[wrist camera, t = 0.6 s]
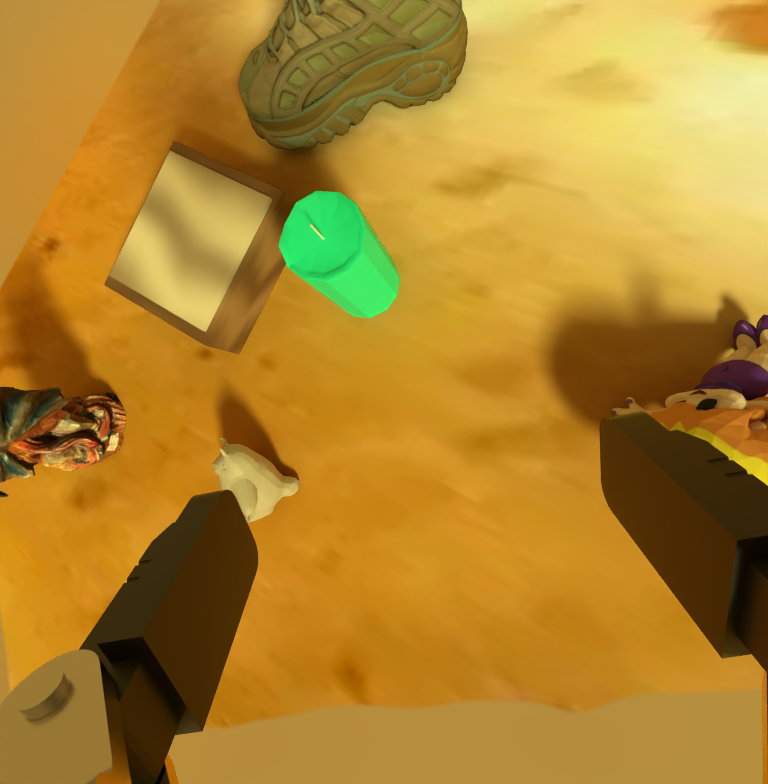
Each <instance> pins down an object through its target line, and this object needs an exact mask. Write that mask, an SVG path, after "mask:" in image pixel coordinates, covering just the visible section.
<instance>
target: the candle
mask: <svg viewBox="0 0 768 784" xmlns="http://www.w3.org/2000/svg"><path fill="white" fill-rule="evenodd" d="M279 248H280V250H281V252H282V255H283V257H284V260H285V262H286V264H287V267H288V268H289V269H290V270H292V271H293V272H294V273H295V274H297V275H298V276H299V277H301V278H302V279H303V280H305V281H306V282H307V283H309V284H310V285H311V286H313V287H314V288H315V289H317V290H318V291H319V292H321V293H322V294H324V295H325V296H326V297H328V298H329V299H330V300H332V301H333V302H334V303H336V304H337V305H339V306H340V307H341V308H343V309H344V310H345V311H347V312H348V313H349V314H351V315H352V316H355V317H365V318H371V317H373V316H375V315H378V314H380V313H382V312H384V311H386V310H387V309H388V308H389V306H390V305H391V304H392V302H393V301H394V300H395V298H396V297H397V294H398V287H399V281H400V277H399V275H398V272H397V270H396V267H395V265H394V262H393V261H392V259H391V258H390V256H389V254H388V253H387V251H386V250H385V248H384V247H383V245H382V243H381V242H380V240H379V239H378V237H377V235H376V234H375V232H374V231H373V229H372V228H371V226H370V224H369V223H368V221H367V220H366V218H365V217H364V215H363V213H362V212H361V210H360V209H359V207H358V206H357V204H356V203H355V202H353V201H352V200H350V199H349V198H347V197H346V196H344V195H343V194H341V193H340V192H329V191H315V192H313V193H312V194H310V195H308V196H306V197H305V198H303V199H301V200H300V201H298V202H296V203H295V205H294V207H293V209H292V211H291V213H290V215H289V217H288V219H287V221H286V223H285V224H284V228H283V231H282V235H281V238H280V242H279Z"/></svg>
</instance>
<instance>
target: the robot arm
mask: <svg viewBox="0 0 768 784" xmlns="http://www.w3.org/2000/svg"><path fill="white" fill-rule="evenodd" d="M600 460H601V484H602V489H603V493H604V496H605V499H606V501H607V504H608V506H609V507H610V509H611V511H612V512H613V514H614V515H615V516H616V518H617V519H618V520H619V522H620V523H621V524H622V526H623V527H624V528H625V530H626V531H627V532H628V534H629V535H630V536H631V538H632V539H633V540H634V542H635V543H636V544H637V546H638V547H639V548H640V550H641V551H642V552H643V554H644V555H645V556H646V558H647V559H648V560H649V562H650V563H651V564H652V566H653V567H654V568H655V570H656V571H657V572H658V574H659V575H660V576H661V578H662V579H663V580H664V582H665V583H666V584H667V586H668V587H669V588H670V590H671V591H672V592H673V594H674V595H675V596H676V598H677V599H678V600H679V602H680V603H681V604H682V606H683V607H684V608H685V610H686V611H687V612H688V614H689V615H690V616H691V618H692V619H693V620H694V622H695V623H696V624H697V626H698V627H699V628H700V630H701V631H702V632H703V634H704V635H705V636H706V638H707V639H708V640H709V642H710V643H711V644H712V646H713V647H714V648H715V650H716V651H717V652H718V654H719V655H720V656H721V658H728V657H735V656H742V655H749V654H752V655H753V656H754V658H755V659H756V660H757V661H758V662H759V664H760V665H761V666H762V667H763V669H764V675H763V682H762V702H763V703H762V719H763V720H762V722H763V723H762V724H763V784H768V485H766V484H765V483H764V482H762V481H761V480H760V479H758V478H757V477H755V476H754V475H753V474H748V473H747V470H746V469H745V468H743V467H742V466H740V465H739V464H738V463H736V462H735V461H734V460H729V458H728V456H727V455H725V454H724V453H723V452H721V451H720V450H719V449H717V448H716V447H714V446H713V445H712V444H710V443H709V442H708V441H706V440H703V439H701V438H698V437H695V436H693V435H690V434H688V433H685V432H682V431H680V430H673V431H669V430H668V429H666V428H665V427H664V426H663V425H661V424H660V423H659V422H658V421H656V420H655V419H654V418H652V417H651V416H650V415H649V414H647V413H646V412H643V411H639V412H634V413H629V414H624V415H618V416H613V417H608V418H604V419H602V421H601V423H600ZM257 567H258V551H257V546H256V543H255V540H254V538H253V535H252V533H251V531H250V528H249V526H248V524H247V521H246V519H245V517H244V515H243V512H242V510H241V508H240V505H239V503H238V501H237V498H236V496H235V495H234V493H233V492H232V491H230V490H222V491H217V492H211V493H206V494H201V495H196V496H193V497H192V498H191V499H190V501H189V502H188V504H187V505H186V507H185V508H184V510H183V511H182V513H181V515H180V516H179V518H178V519H177V521H176V522H175V523H172V524H171V525H170V526H169V527H168V528H167V529H165V530H164V531H163V532H162V533H161V534H160V535H159V536H158V537H157V538H156V539H154V540H153V541H152V543H151V544H150V546H149V547H148V548H147V550H146V551H145V553H144V554H143V556H142V557H141V559H140V560H139V565H138V566H135V568H134V569H133V571H132V572H131V574H130V575H129V576H128V578H127V583H124V584H123V585H122V587H121V588H120V590H119V591H118V593H117V594H116V596H115V597H114V599H113V600H112V602H111V603H110V604H109V606H108V607H107V609H106V610H105V612H104V613H103V615H102V616H101V618H100V619H99V621H98V622H97V624H96V625H95V627H94V628H93V630H92V631H91V633H90V634H89V635H88V637H87V638H86V640H85V641H84V643H83V644H82V646H81V647H80V649H79V650H75V651H71V652H68V653H65V654H62V655H60V656H58V657H56V658H54V659H52V660H50V661H49V662H47V663H45V664H44V665H42V666H41V667H39V668H38V669H36V670H35V671H34V672H32V673H31V674H30V675H28V676H27V677H26V678H25V679H24V680H23V681H22V682H20V683H19V684H18V685H17V686H16V687H15V688H14V689H13V690H12V691H11V693H10V694H9V695H8V696H7V697H6V698H5V700H4V701H3V702H2V703H1V705H0V784H178V780H177V776H176V772H175V769H174V765H173V762H172V760H171V759H170V757H169V756H168V751H169V749H170V746H171V744H172V741H173V739H174V736H175V735H178V734H186V733H193V732H200V731H203V728H204V725H205V722H206V719H207V716H208V713H209V711H210V708H211V705H212V702H213V699H214V696H215V693H216V690H217V687H218V684H219V681H220V678H221V675H222V672H223V669H224V666H225V663H226V660H227V657H228V655H229V652H230V649H231V646H232V643H233V640H234V637H235V634H236V631H237V628H238V625H239V622H240V619H241V616H242V613H243V610H244V607H245V604H246V601H247V598H248V596H249V593H250V590H251V587H252V584H253V581H254V578H255V575H256V572H257Z"/></svg>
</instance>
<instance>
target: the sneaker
mask: <svg viewBox="0 0 768 784" xmlns="http://www.w3.org/2000/svg"><path fill="white" fill-rule="evenodd" d="M467 35H468V30H467V21H466V17H465V15H464V12H463V10H462V0H286V1H285V4H284V7H283V10H282V13H281V14H280V15H279V16H278V18H277V20H276V22H275V24H274V26H273V29H272V30H270V31H269V35H268V37H267V38H266V39H265V40H264V41H263V42H262V43H261V44H259V45H258V46H257V47H256V48H254V49H253V50H252V51H251V53H250V54H249V56H248V58H247V60H246V62H245V64H244V66H243V68H242V70H241V73H240V78H239V90H240V94H241V97H242V100H243V102H244V104H245V107H246V110H247V112H248V115H249V119H250V121H251V124H252V127H253V129H254V130H255V132H256V134H257V135H258V136H259V137H261V138H263V139H266V140H267V141H268V142H269V143H270V144H271V145H272V146H275V147H277V148H282V149H287V150H296V149H297V148H299V147H304V148H307V149H308V148H312V147H315V145H316V143H318V142H319V143H321V144H325V143H328V142H331V141H332V138H333V136H334V135H340V136H342V135H344V134H346V133H347V132H349V127H350V125H353V126H355V125H357V124H359V123H360V122H362V120H363V119H364V117H365V115H366V114H367V112H368V111H369V110H370V108H371V107H372V106H373V105H374V104H376V103H379V102H381V101H383V100H384V101H387V102H390V103H392V104H394V105H395V106H397V107H399V108H404V109H406V108H408V107H410V106H419V105H425V103H426V102H427V101H428V100H429V101H433V102H434V101H436V100H439V99H440V98H441V97H442V96H443V94H444V93H447V92H450V90H451V89H452V88H453V86H454V85H455V84H456V79H457V77H458V76H459V75H460V73H461V71H462V68H463V65H464V61H465V56H466V51H465V50H466V46H467Z"/></svg>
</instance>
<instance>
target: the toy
mask: <svg viewBox="0 0 768 784" xmlns="http://www.w3.org/2000/svg"><path fill="white" fill-rule="evenodd" d="M733 340H734V343H735V347H736V349H737V350H736V351H735V352H733V353H732V354H731V355H730V356H729V357H727V358H726V359H725V360H723V361H722V362H721V363H720V364H718V365H716V366H714V367H713V368H712V369H710V370H709V371H708V372H707V373H706V374H705V375H704V377H703V379H702V384H700V385H697V386H696V387H695V389H694V390H693V391H688V392H682V393H677V394H674V395H672V396H669V397H668V398H667V399H666V401H665V405H666V408H660V409H655V410H650V411H647V410H645V409H643V408H642V407H640V406H639V405H637V404H636V402H635V400H634V398H632V397H629V398H627V399H626V401H627V403H628V404H629V406H630V408H626V409H623V408H616V407H615V408H614V409H612V414H614V415H615V416H618V415H624V414H629V413H634V412H639V411H643V412H646V413H647V414H649V415H650V416H651V417H652V418H654V419H655V420H656V421H658V422H659V423H660V424H661V425H663V426H664V427H665V428H666V429H668V430H669V431H673V430H680V431H682V432H685V433H688V434H690V435H693V436H695V437H698V438H701V439H703V440H706V441H708V442H709V443H710V444H712V445H713V446H714V447H716V448H717V449H719V450H720V451H721V452H723V453H724V454H725V455H727V456H728V458H729V460H734V461H735V462H736V463H738V464H739V465H740V466H742V467H743V468H745V469H746V470H747V473H748V474H753V475H754V476H755V477H757V478H758V479H760V480H761V481H762V482H764V483H765V484H766V485H768V397H764V396H766V395H767V394H768V315H763V316H762V317H761V318H760V319H759V321H758V323H757V327H756V328H755V327H754V326H753V325H751V324H750V323H748V322H747V321H744V320H739V321H738V322H737V323H736V325H735V327H734V331H733Z"/></svg>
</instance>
